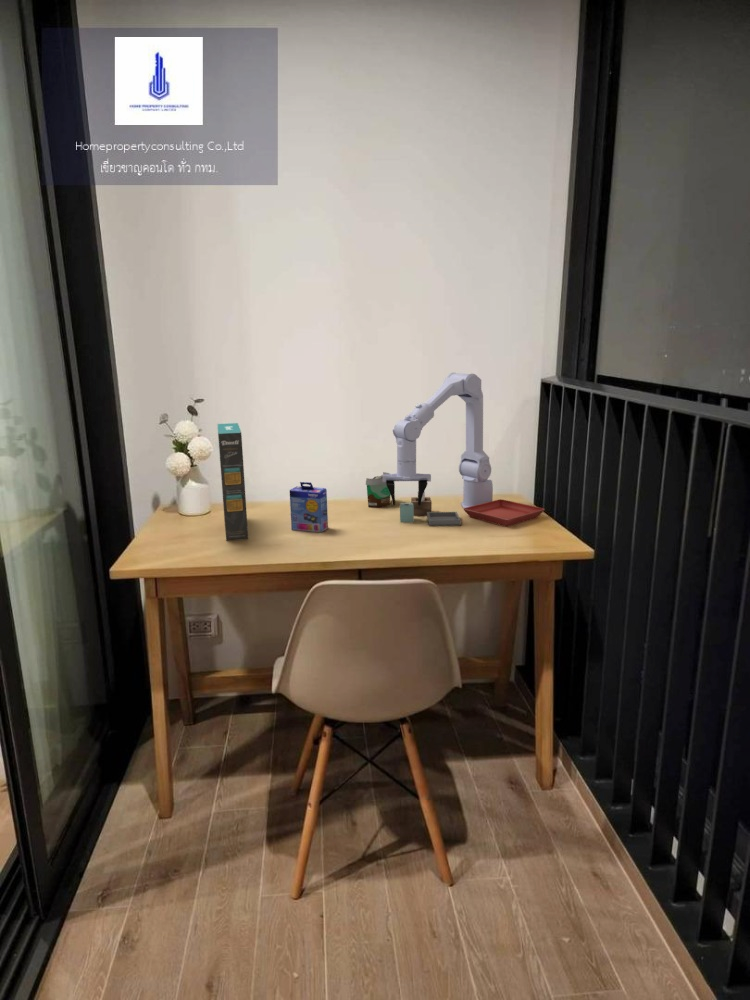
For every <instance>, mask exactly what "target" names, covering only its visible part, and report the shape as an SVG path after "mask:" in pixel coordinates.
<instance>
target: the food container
mask: <svg viewBox="0 0 750 1000" xmlns="http://www.w3.org/2000/svg"><path fill="white" fill-rule="evenodd" d="M383 474H391V473H389V472H385V471H384V472H383V471H382V474H381V475H380V476H379V475H377V476H374V477H373V478H369V477H367V478H366V480H365V485H366V494H367V505H368V506H367V507H368V508H376V509H378V508H379V509H380V508H385V507H388V506H391V494H390V492H389V489H388V487H387V485H386V482H383Z"/></svg>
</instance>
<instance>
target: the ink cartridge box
mask: <svg viewBox="0 0 750 1000" xmlns="http://www.w3.org/2000/svg"><path fill="white" fill-rule="evenodd" d="M299 483H300V486H295V487H293V488H291V489H289V507H290V525H291V526H290V527H291V530H292V531H302V532H303V531H304V532H312V533H322V532H324V531H325V530H327V529H328V528H329V520H328V519H329V517H328V516H329V515H328V514H329V513H328V494H327V488H325V487H314V485H313V484H312V482H307V481H305V482H304V481H300V482H299Z"/></svg>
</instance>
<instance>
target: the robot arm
mask: <svg viewBox="0 0 750 1000" xmlns="http://www.w3.org/2000/svg"><path fill="white" fill-rule="evenodd" d="M442 382H443V383H442V384H441V386H439V388H438V389H437V390H436V391H435V392H434V393H433V394H432V396H431V397H430V398H429V399H428V400H427V401H426V402H421V403H417V404H416V405H415V408H414V409H413V410H412V411H411V412H410V413H408V414H407V415H405V418H404V419H400V420H399V421H397V422H396V424H395V425H394V428H393V429H392V434H393V436H394V437H395V443H396V473H390V474H383V473H382V475H383V482H386V485H387V487H388V489H389V492H390V494H391V495H390V498H391V501H392V506H396V495H395V492H396V490H395V482H417V484H418V486H417V487H418V488H417V490H418V491H417V497H418V505H421V499H422V496H423V493H424V492H426V491H425V490H426V489H427V486H428V482H431V481H432V474H431V473H417V439H419V438H420V436H421V433H422V431H423V428H424V427H425V426H426V425H427V424H428V423H429V422H430V421H431V420H432V419H433V418H434V416H435V411H436V410H437V409H439V408H440V406H442V405H443V404H444V403H445V402H446V401H448V399H450V398H451V397H452V396H457V397H459V398H461V400H462V401H464V403H465V451H464V452H463V453H462V454H461V455H460V462H459V465H458V472H459V474H460V475H461V478H462V479H463V484H462V485H463V487H462V489H463V491H462V492H463V494H462V496H463V497H462V501H460V505H461V506H462V509H463V508H467V507H471V506H475V505H479V504H483V503H487V502H491V501H493V500H494V499H493V495H494V494H493V493H494V492H493V491H494V488H493V487H494V485H493V480H492V479H489V478H490V477H491V474H492V466H491V463H490V456H489V455H488V454H487V453H486V452H485V450H484V394H483V391H482V379H481V378H480V377H479V376H478V375H477V374H475V373H461V372H460V373H456V372H451V373H449V374H448V375H447V377H445V378H443V381H442Z"/></svg>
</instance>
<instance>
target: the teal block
mask: <svg viewBox="0 0 750 1000" xmlns="http://www.w3.org/2000/svg"><path fill="white" fill-rule="evenodd" d="M414 517H415V516H414V506H413V503H411V502H400V503H399V521H400V523H414V520H415V518H414Z"/></svg>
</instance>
